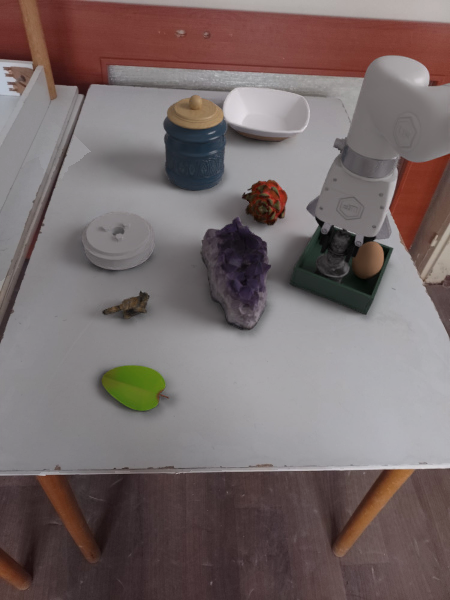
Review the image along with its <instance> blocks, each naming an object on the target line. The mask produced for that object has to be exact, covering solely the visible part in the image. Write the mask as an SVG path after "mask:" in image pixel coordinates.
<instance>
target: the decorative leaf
mask: <svg viewBox="0 0 450 600" xmlns="http://www.w3.org/2000/svg"><path fill="white" fill-rule="evenodd" d="M101 385H102V386H103V389H105V391H106V392H107V393H108V394H109V395H110V396H112V398H114V399H115V400H116V401H118V402H119V403H120V404H122V405H123V406H125V407H127V408H129V409H132V410H134V411H139V412H143V411H145V412H146V411H149V410H152V409H154V408H157V406H158V405H159V403H160V396H161V397H163V398H166V399H170V397H169V396H167V395H164V394H161V393H162V392H164V390H165V389H166V386H167V384H166V380H165V378H164V376H163V375H162V374H161V373H160V372H158V371H157V370H155V369H154V368H151V367H149V366H146V365H145V366H144V365H138V364H137V365H136V364H127V365H119V366H116V367H113V368H110V369H108V371H106V372H105V373H104V374H103V375H102V377H101Z"/></svg>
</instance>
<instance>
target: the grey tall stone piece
mask: <svg viewBox="0 0 450 600" xmlns="http://www.w3.org/2000/svg"><path fill="white" fill-rule="evenodd" d="M349 232H350V231H348V230H345V229H342V228H339V230H337V231H335V233H334V235H333V238H332V241H331V243H329V244H328V246H327V249H328V252H327V253H326V254H322V255H320V256H319V257H318V258H317V260H316V268H317V270H316V271H315V273H314V274H317V275H319V276H322V277H324V278H327V279H330V280H332V281H335V282H337V283H340V284H342V281H343V280H342V278H343V277H344V276H345V275H346V274H347V273H348V271H349V264H348V263H347V262H346V261H345V259H344V258H345V256H346V255H347V253H348V250H349V249H348V246H349V243H350V240H351V235H350V233H351V232H350V233H349Z"/></svg>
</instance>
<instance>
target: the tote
mask: <svg viewBox="0 0 450 600" xmlns="http://www.w3.org/2000/svg"><path fill="white" fill-rule="evenodd" d="M334 228H335V229H334V232H333V235H334V233H335V231H337V230H339V229H340V228H339V227H337V226H334ZM348 232H349V233H350V235H351V240H350V243H349V246H348V249H349V247H350V245H351V243H352V241H353V239H354V237H355V235H356V233H354V232H351V231H348ZM333 235H332V238H333ZM321 236H322V232H321V227H320V226H319V225H318V226H317V227H316V229H315V231H314V233H313V234H312V236H311V237H310V239H309V241H308V243H307V245H306V246H305V248H304V249H303V252H302V253H301V254H300V256H299V258H298V260H297V262H296V263H295V265H294V267H293V269H292V273H291V278H290V280H289V285H292V286H295V287H297V288H299V289H301V290H304V291H307V292H309V293H312V294H314V295H316V296H319V297H322V298H323V299H326V300H329V301H331V302H334V303H337V304H339V305H341V306H343V307H346V308H348V309H351V310H354V311H356V312H359V313H361V314H364V315H367V314H368V313H369V310H370V308H371V306H372V304H373V302H374V300H375V297H376V296H377V293H378V289H379V287H380V285H381V282H382V280H383V277H384V274H385V272H386V270H387V267H388V264H389V262H390V260H391V256H392V254H393V251H394V247H391V246H389V245H386V244H383V243H380V242H379V241H378V242H377V241H375V240H374V241H371V242H376V243H378V244H379V245H380V246H381V247H382V249H383V253H384V261H383V265H382V268H381V269H380V271H379V272H378V273H377V274H376V275H375V276H374V277H372V278H369V279H360V278H358V277H357V276H356V275H355V274H354V272H353V270H352V259H353V257H352V256H351V259H350V261H349V263H348V264H349V271H348V273H347V274H346V275H345V276H344V277H343V278H342V280H343V281H342V284H340V283H337V282H335V281H332V280H330V279H327V278H324V277H322V276H319V275H317V274H314V273H315V271H316V270H317V268H316V260H317V258H318V257H319V256H320V255H322V254H326V253H327V252H328V249H327V250H326V251H325V253H320V251H321V248H322V245H319V242H320V239H321ZM332 238H331V241H332ZM331 241H330V243H331ZM364 244H365V243H364ZM362 245H363V244H362ZM360 247H361V246H360ZM346 256H347V255H346ZM346 256H345V258H346ZM345 258H344V259H345Z"/></svg>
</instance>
